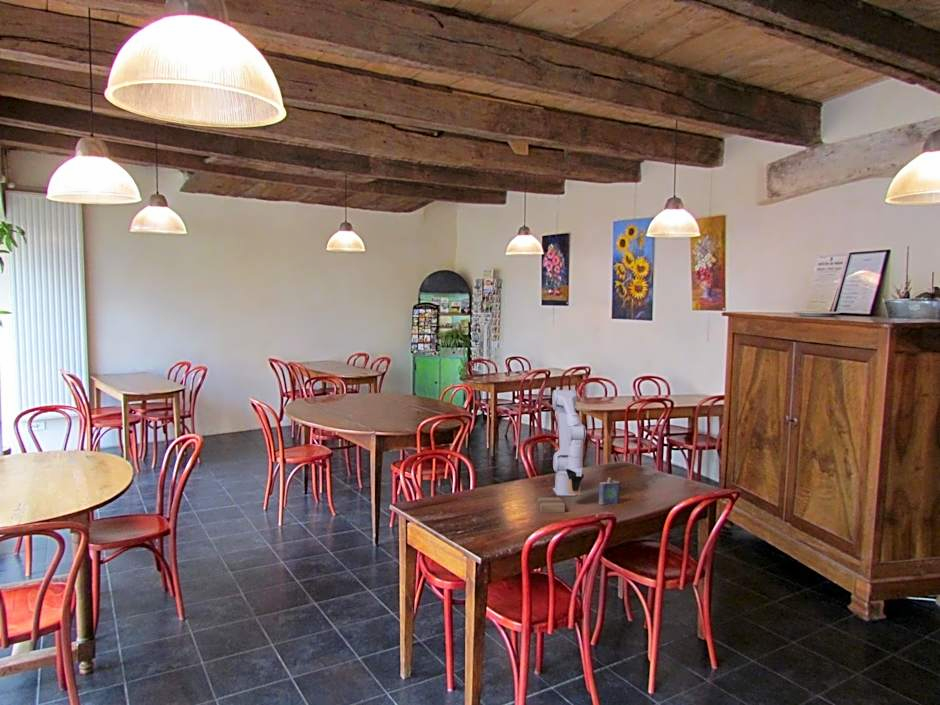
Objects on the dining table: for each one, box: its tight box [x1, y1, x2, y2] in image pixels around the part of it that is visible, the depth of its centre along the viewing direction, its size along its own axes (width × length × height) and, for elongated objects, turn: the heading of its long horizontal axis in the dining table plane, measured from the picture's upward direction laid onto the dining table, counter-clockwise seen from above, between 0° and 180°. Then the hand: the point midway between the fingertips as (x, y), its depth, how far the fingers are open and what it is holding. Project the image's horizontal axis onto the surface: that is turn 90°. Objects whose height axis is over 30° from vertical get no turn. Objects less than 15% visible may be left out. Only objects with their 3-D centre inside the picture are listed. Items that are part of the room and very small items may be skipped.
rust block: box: [568, 479, 582, 495], centre depth 258 cm, size 4×4×5 cm
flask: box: [597, 477, 621, 506], centre depth 261 cm, size 9×3×11 cm, turn 109°
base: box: [537, 497, 566, 513], centre depth 253 cm, size 9×9×3 cm
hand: (574, 489), depth 258 cm, fingers closed on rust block, 4 cm apart
